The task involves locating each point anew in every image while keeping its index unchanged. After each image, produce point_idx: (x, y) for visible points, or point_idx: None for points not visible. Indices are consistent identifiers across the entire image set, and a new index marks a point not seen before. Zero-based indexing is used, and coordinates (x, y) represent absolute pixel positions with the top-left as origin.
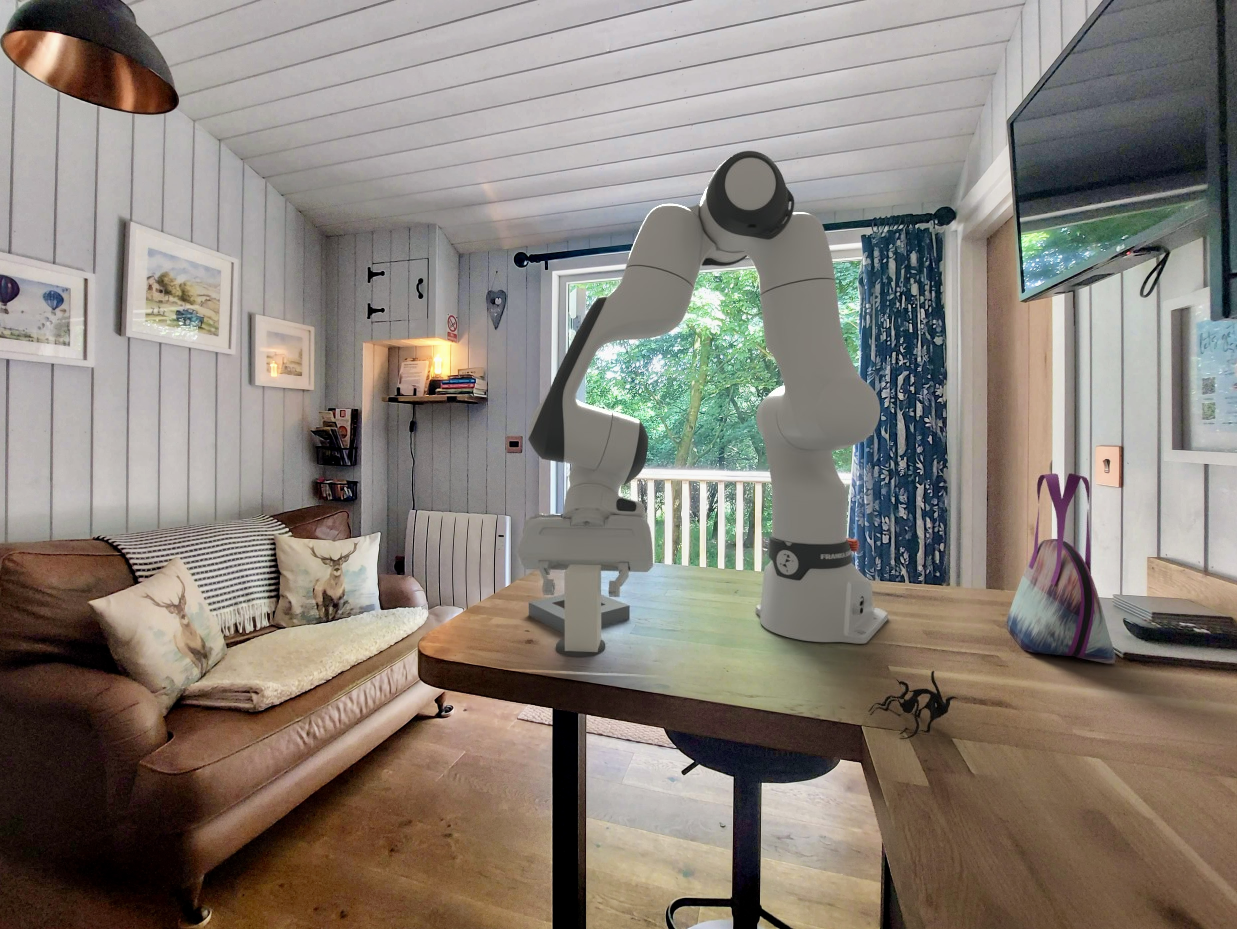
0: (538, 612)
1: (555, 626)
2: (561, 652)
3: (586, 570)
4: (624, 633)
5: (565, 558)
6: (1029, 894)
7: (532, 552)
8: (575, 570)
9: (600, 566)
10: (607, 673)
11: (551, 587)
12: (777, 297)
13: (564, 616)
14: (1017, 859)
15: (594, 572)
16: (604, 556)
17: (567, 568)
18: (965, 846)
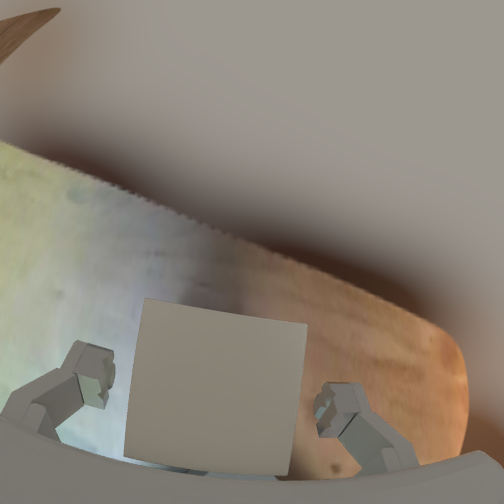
0: None
1: (277, 477)
2: None
3: (197, 349)
4: (108, 450)
5: (322, 480)
6: (22, 19)
7: (464, 473)
8: (255, 353)
9: (125, 435)
10: (156, 248)
11: (332, 384)
12: None
13: (260, 480)
14: (6, 31)
15: (156, 308)
16: (93, 465)
17: (298, 396)
18: (16, 32)
